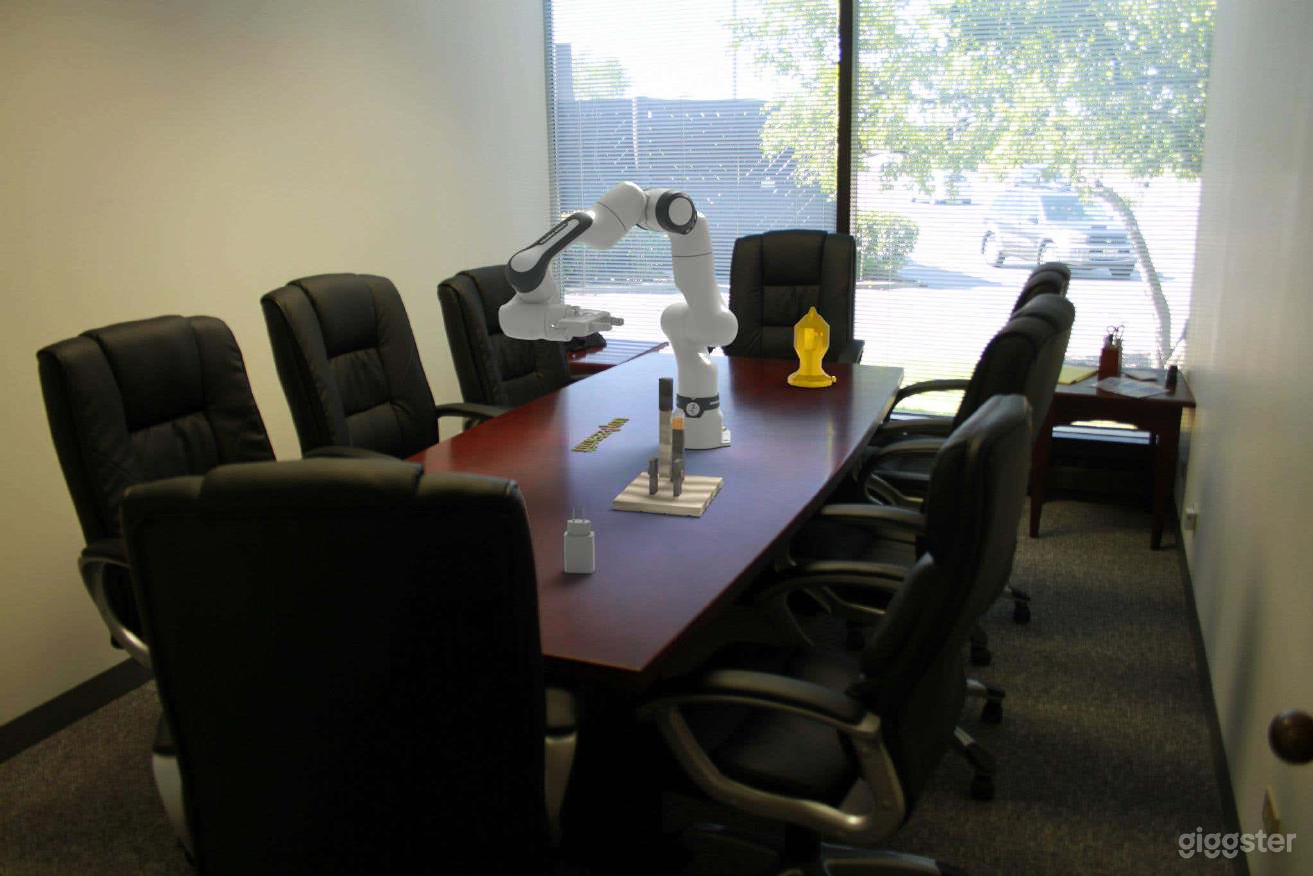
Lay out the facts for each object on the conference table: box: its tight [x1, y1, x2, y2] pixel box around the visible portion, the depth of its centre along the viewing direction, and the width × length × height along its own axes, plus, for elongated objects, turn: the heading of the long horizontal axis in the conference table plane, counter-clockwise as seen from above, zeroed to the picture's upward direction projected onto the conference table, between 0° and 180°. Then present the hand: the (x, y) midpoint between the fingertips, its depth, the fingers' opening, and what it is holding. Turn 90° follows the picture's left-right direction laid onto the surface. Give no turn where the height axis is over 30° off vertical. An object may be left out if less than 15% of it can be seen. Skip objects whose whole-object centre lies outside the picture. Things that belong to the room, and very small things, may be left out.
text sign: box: [570, 417, 630, 453], centre depth 285 cm, size 40×1×8 cm
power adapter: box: [563, 508, 596, 574], centre depth 182 cm, size 3×5×12 cm, turn 84°
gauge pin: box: [672, 413, 685, 430], centre depth 229 cm, size 10×5×2 cm, turn 165°
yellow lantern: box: [787, 306, 837, 388], centre depth 359 cm, size 18×24×28 cm
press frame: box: [612, 422, 724, 518], centre depth 225 cm, size 24×20×16 cm
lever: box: [658, 377, 674, 479], centre depth 219 cm, size 3×3×22 cm
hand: (617, 324), depth 233 cm, fingers open, 8 cm apart
